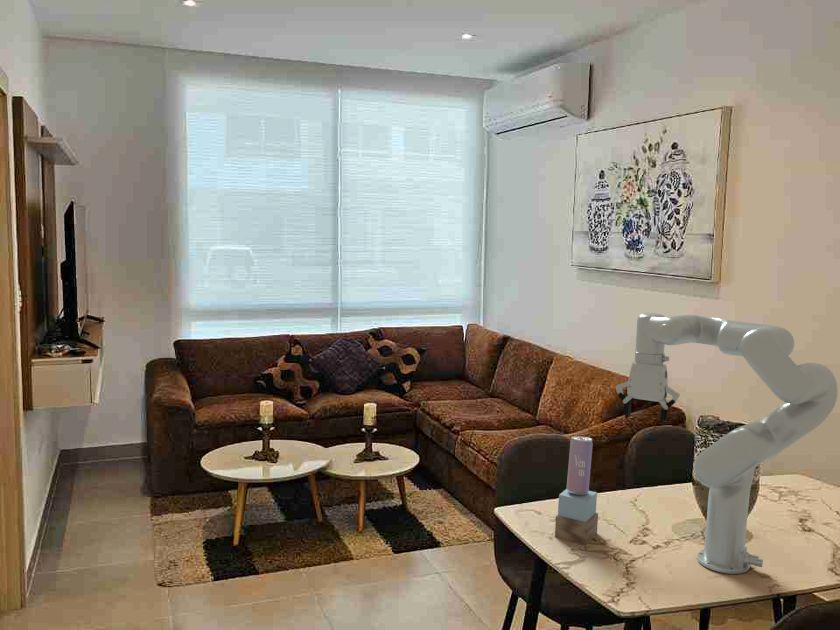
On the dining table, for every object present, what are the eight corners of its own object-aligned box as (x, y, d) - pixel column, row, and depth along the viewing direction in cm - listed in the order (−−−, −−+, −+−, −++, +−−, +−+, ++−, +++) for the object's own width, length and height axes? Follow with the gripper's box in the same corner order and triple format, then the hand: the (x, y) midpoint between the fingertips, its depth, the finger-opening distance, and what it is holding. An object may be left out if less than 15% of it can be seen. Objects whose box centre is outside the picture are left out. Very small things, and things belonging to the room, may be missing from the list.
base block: (596, 533, 214) (598, 513, 213) (586, 545, 206) (587, 523, 206) (566, 526, 219) (567, 506, 218) (554, 537, 211) (555, 516, 210)
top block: (595, 513, 213) (597, 492, 212) (585, 522, 206) (587, 501, 206) (568, 506, 217) (569, 486, 217) (557, 515, 211) (559, 494, 210)
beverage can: (588, 491, 214) (592, 437, 213) (588, 496, 208) (593, 441, 207) (566, 488, 215) (570, 435, 214) (566, 493, 209) (570, 438, 208)
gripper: (684, 360, 209) (680, 421, 211) (621, 353, 217) (618, 412, 219) (678, 364, 202) (674, 427, 204) (613, 357, 211) (610, 417, 213)
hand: (645, 419), depth 212 cm, fingers open, 9 cm apart
